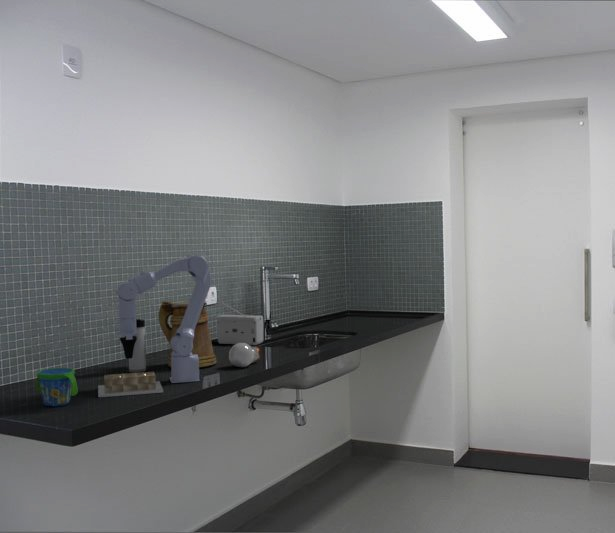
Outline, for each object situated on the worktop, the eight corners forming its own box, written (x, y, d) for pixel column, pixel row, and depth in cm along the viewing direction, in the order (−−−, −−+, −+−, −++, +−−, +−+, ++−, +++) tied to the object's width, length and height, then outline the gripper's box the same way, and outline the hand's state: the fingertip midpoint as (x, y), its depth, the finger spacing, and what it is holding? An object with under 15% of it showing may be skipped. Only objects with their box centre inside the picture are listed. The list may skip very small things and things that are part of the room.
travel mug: (124, 371, 269) (123, 318, 268) (139, 368, 273) (138, 316, 273) (134, 373, 264) (132, 319, 264) (149, 370, 269) (148, 317, 268)
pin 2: (146, 383, 238) (146, 373, 238) (147, 385, 235) (146, 374, 235) (137, 384, 237) (137, 373, 237) (138, 386, 235) (138, 375, 234)
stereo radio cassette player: (264, 343, 333) (263, 300, 332) (256, 346, 325) (255, 302, 324) (224, 341, 340) (223, 299, 339) (215, 344, 332) (214, 301, 332)
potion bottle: (231, 373, 269) (250, 370, 283) (250, 359, 266) (269, 357, 280) (219, 352, 272) (239, 350, 286) (238, 338, 269) (257, 337, 283)
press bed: (159, 384, 245) (159, 381, 245) (163, 392, 231) (163, 389, 231) (98, 388, 239) (98, 385, 239) (98, 397, 226) (98, 394, 226)
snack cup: (88, 403, 217) (87, 370, 217) (58, 411, 209) (56, 376, 208) (56, 397, 226) (55, 365, 226) (26, 404, 218) (25, 371, 217)
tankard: (204, 370, 268) (203, 303, 267) (148, 368, 275) (146, 303, 273) (223, 362, 285) (222, 299, 284) (169, 360, 292) (168, 298, 291)
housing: (154, 383, 241) (153, 371, 241) (155, 387, 234) (155, 375, 234) (104, 387, 236) (104, 375, 236) (104, 391, 230) (104, 379, 229)
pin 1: (121, 385, 236) (121, 374, 236) (121, 387, 233) (121, 376, 233) (112, 386, 235) (112, 375, 235) (113, 388, 232) (112, 376, 232)
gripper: (114, 316, 248) (115, 355, 248) (116, 321, 234) (117, 362, 235) (135, 315, 250) (136, 354, 250) (138, 319, 236) (139, 361, 237)
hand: (128, 358), depth 243 cm, fingers closed
